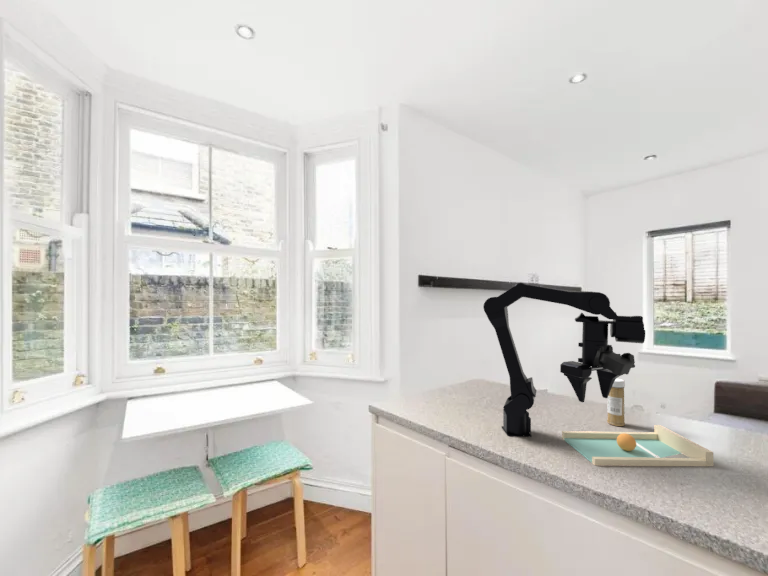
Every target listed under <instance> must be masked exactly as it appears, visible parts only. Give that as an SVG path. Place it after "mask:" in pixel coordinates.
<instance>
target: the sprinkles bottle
mask: <svg viewBox="0 0 768 576" xmlns="http://www.w3.org/2000/svg"><path fill="white" fill-rule="evenodd" d="M625 386H626V383H625V380H624V379H622V378H619V377H618V378H616V379H615V381H614V383H613V385H612V388H611V390H610V393H609V395H608V398H606V401H607V402H606V406H607V407H606V411H607V419H606V422H607V423H608V424H609V425H612V426H614V427H624V426H625V425H626V422H625V413H626V412H625V408H626V407H625Z"/></svg>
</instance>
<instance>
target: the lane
mask: <svg viewBox="0 0 768 576" xmlns="http://www.w3.org/2000/svg"><path fill="white" fill-rule="evenodd" d="M653 428H654V429H653V431H651V432H650V431H647V432H645V431H593V430H592V431H590V430H589V431H586V430H585V431H583V430H582V431H581V430H580V431H579V430H576V431H575V430H574V431H573V430H572V431H571V430H570V431H569V430H562V431H561V439H563V440H564V442H566V443H567V444H568V445H569V446H571V447H572V448H573V449H575V451H577V452H578V453H579V454H580V455H581V456H582V457H584V458H585V459H587V461H589V462H590V463H591V464H592V465H594V466H598V467H599V466H602V467H603V466H604V467H608V466H610V467H611V466H612V467H619V466H624V467H627V466H628V467H629V466H630V467H714V451H712V450H710V449H708V448H707V447H704V446H702V445H700V444H699V443H696V442H694V441H693V440H691V439H689V438H686V437H685V436H682V435H681V434H679V433H677V432H675V431H673V430H671V429H669V428H667V427H665V426H663V425H661V424H654V425H653ZM623 433H625V434H629V435H631V436H632V437H633V438H634V439H635V441H636V447H635V449H634V450H632V451H625V450H623V449H621V448H620V447H619V446H618V444H617V437H618V436H619V435H620V434H623ZM563 440H562V441H563ZM680 454H682V455H684V456H686V457H672V456H677V455H680ZM657 455H658V456H659V457H660V458H659V457H657ZM654 456H656V457H654Z"/></svg>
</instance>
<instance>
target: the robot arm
mask: <svg viewBox="0 0 768 576" xmlns="http://www.w3.org/2000/svg"><path fill="white" fill-rule="evenodd" d="M522 298H526V299H527V298H528V299H532V300H538V301H539V300H540V301H543V302H549V303H555V304H559V305H560V304H561V305H567V306H569V307H572V308H575V309H578V310H580V311H584V312H587V313H589V314H591V315H585V314H584V313H583V312H581V313H580V314H579V315H578V316H577V317H575V318H574V322H576V323H582V333H581V334H582V337H581V338H582V340H581V341H580V342H578V347H579V348H581V357H578V358H577V361H575V360H570V361H563V362H562V363H561V364H560V370H559V372H560V373H561V374H563V376H565V377H566V378H567V379H568V381H569V383H570V384H571V387H572V389H573V391H574V393H575V396H576V397H577V399H578V402H580V403H584V402H585V399H586V392H587V383H588V382H589V381H590V380H592V377H590V376H591V375H592V373H593V372H594V371H596V375H597V380H598V385H599V389H600V393H601V396H602V398H603V399H607V398H608V395H609V393H610V390H611V388H612V385H613V383H614V381H615V379H616V378H618V379H619V377H622V376H624V375H627V376H628V375H629V373H630V371H631V369H633V368H635V367H636V365H635V362H636V361H635V355H634V354H632V353H630V352H624V353H623V354H620V353H616V352H614V348H613V346H612V344H609V333H610V338H615V342H619V343H632V344H644V343H645V341H646V340H645V339H646V330H645V323H644V317H643V316H641V315H617V312H615V311H614V310H613V309H612V308H611V302H610V301H611V300H610V298H609V297H608V296H607V294H605V293H602V292H600V291H599V292H598V291H567V290H561V289H555V288H547V287H542V286H536V285H530V284H526V283H523V282H518V283H516V284H515V285H513V287H511V288H509V289H508V290H506V291H504V292H503V293H501V294H500V295H498V296H492V297H489V298H487V299H485V301H484V304H483V311H484V313H485V316H486V317H487V319H488V321H489V322H490V324H491V325H492V327H493V328H494V330H495V334H496V337H497V341H498V343H499V347H500V350H501V353H502V356H503V360H504V363H505V366H506V369H507V372H508V373H507V374H508V376H509V388H510V390H509V391H510V396H508V397H507V398H506V400H505V403H504V405H503V409H502V411H503V412H502V413H503V417H502V418H503V421H502V423H503V425H502V426H501V429H502V431H503V432H504V433H505V435H507V437H517V438H518V437H519V438H520V437H523V438H526V437H527V438H532V434H531V432H532V418H531V417H530V413H529V411H528V410H530V409H531V408H532V407H533V405H534V402H535V399H536V397H537V391H538V390H537V389H536V387H535V386H534V379H533V377H527V376H526V374H525V372H524V370H523V367H522V366H523V365H522V363H521V360H520V357H519V354H518V351H517V347H516V343H515V341H514V338H513V337H514V336H513V335H512V332H511V331H512V330H511V328H510V323H509V320H510V319H509V310H508V309H509V308H508V307H510V306H511V305H512V304H514V303H516V302H517V301H519V300H520V299H522ZM594 315H596V316H594ZM597 315H600V316H602V317H604V318H606V319H608V320H601V319H599V316H597ZM609 325H610V327H609ZM609 330H610V331H609Z"/></svg>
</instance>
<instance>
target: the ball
mask: <svg viewBox="0 0 768 576" xmlns="http://www.w3.org/2000/svg"><path fill="white" fill-rule="evenodd" d="M617 444H618V446H619V447H620V448H621V449H623V450H625V451H632V450H634V449H635V447H636V441H635V439H634V438H633V437H632V436H631V435H629V434H625V433H623V434H620V435H619V436H618V437H617Z"/></svg>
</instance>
